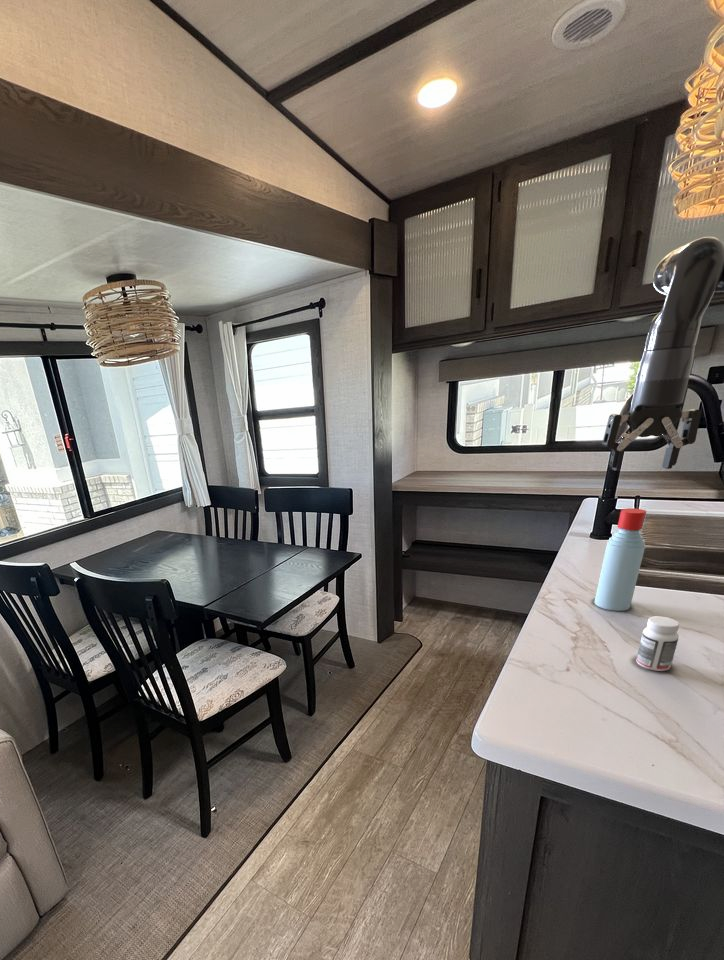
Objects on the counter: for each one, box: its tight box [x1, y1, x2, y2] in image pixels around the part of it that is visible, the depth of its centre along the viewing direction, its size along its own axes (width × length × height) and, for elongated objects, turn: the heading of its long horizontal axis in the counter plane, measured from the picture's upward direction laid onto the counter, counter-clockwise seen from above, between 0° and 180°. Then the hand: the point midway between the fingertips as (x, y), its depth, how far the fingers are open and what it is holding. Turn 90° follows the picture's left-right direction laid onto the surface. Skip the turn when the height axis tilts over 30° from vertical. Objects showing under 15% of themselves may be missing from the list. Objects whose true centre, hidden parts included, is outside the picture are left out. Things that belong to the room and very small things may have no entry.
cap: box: [617, 507, 647, 531], centre depth 94 cm, size 4×4×3 cm
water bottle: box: [594, 528, 646, 612], centre depth 98 cm, size 6×6×20 cm
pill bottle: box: [635, 615, 680, 672], centre depth 79 cm, size 5×5×8 cm
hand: (641, 469), depth 90 cm, fingers open, 8 cm apart
